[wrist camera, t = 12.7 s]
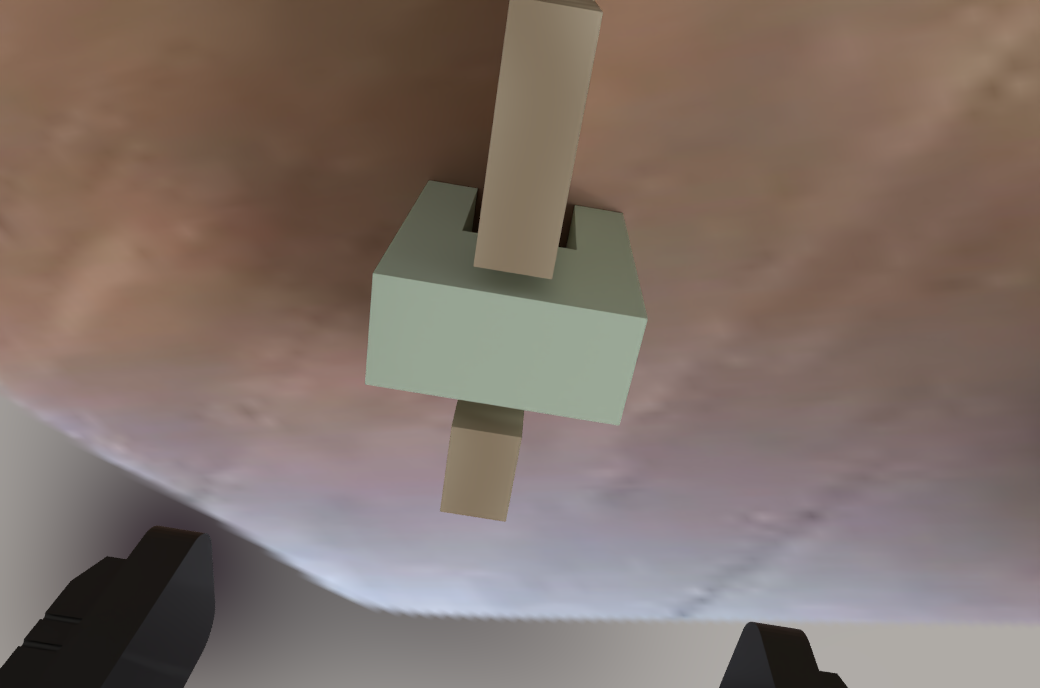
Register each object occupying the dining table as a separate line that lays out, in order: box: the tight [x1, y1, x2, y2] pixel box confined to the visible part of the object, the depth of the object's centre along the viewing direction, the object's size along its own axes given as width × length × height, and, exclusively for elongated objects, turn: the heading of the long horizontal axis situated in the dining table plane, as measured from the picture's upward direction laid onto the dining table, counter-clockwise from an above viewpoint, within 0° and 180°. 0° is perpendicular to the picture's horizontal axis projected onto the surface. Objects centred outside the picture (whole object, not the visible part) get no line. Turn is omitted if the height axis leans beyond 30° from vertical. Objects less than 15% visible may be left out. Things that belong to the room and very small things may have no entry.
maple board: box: [440, 0, 603, 522], centre depth 19 cm, size 2×20×8 cm, turn 171°
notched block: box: [365, 180, 648, 425], centre depth 21 cm, size 6×3×8 cm, turn 81°
